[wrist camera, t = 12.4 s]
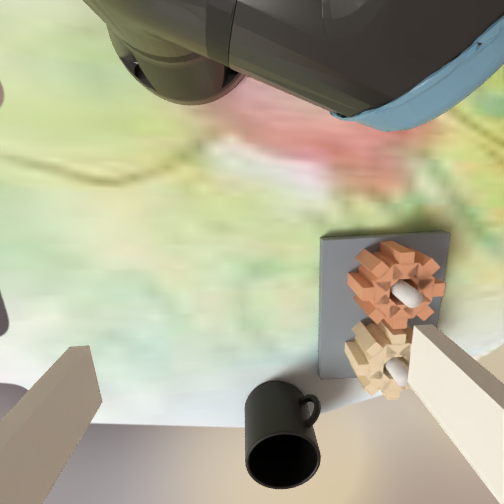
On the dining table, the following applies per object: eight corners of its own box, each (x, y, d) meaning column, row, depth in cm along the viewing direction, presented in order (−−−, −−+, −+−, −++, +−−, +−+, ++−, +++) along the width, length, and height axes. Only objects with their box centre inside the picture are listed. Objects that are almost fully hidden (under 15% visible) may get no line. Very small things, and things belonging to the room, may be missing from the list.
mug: (331, 395, 46) (352, 449, 37) (273, 439, 48) (280, 501, 39) (290, 358, 44) (302, 406, 35) (231, 406, 46) (229, 462, 37)
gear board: (320, 237, 38) (341, 257, 30) (442, 230, 39) (496, 248, 31) (317, 372, 44) (335, 419, 36) (424, 365, 45) (465, 410, 36)
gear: (349, 243, 37) (365, 254, 32) (423, 238, 37) (450, 249, 33) (346, 311, 40) (360, 331, 35) (415, 307, 40) (439, 326, 35)
